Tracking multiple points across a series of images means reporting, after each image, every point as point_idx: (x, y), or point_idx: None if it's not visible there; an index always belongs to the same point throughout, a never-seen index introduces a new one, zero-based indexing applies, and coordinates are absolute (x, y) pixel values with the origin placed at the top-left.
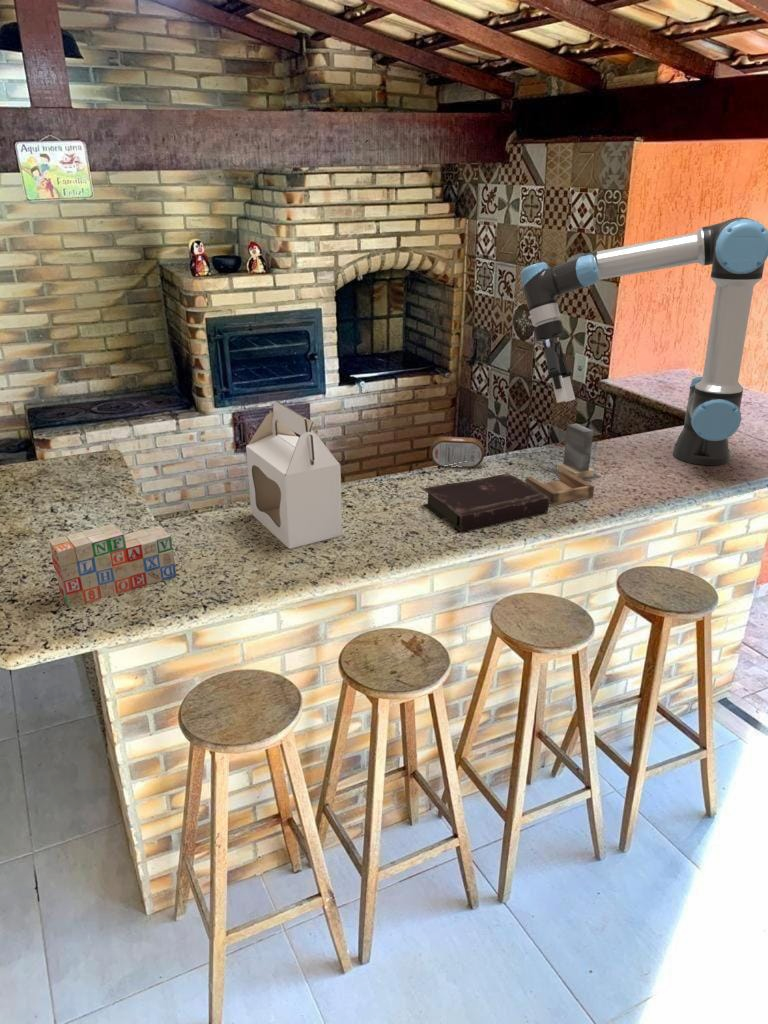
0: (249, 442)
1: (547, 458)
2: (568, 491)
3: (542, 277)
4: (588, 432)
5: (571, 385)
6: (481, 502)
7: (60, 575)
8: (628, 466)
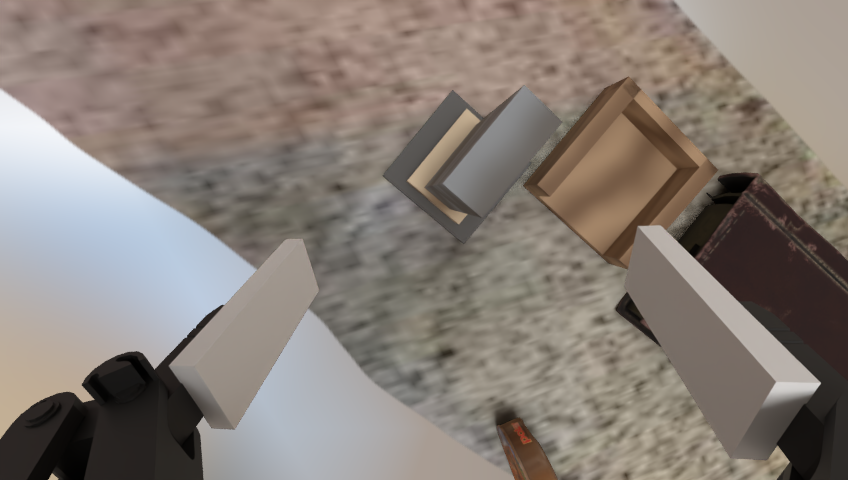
0: None
1: (355, 276)
2: (687, 138)
3: None
4: (541, 105)
5: (250, 299)
6: (839, 312)
7: None
8: (308, 28)
